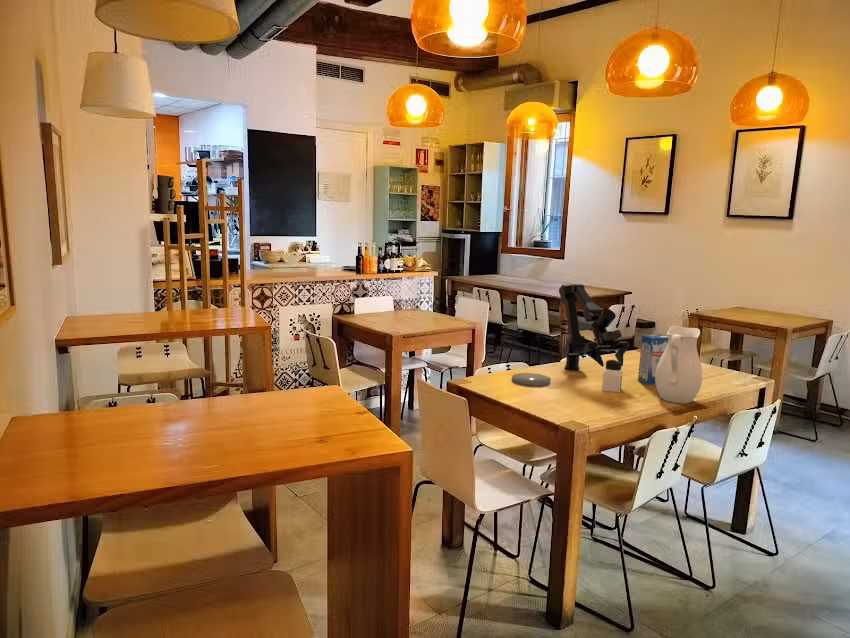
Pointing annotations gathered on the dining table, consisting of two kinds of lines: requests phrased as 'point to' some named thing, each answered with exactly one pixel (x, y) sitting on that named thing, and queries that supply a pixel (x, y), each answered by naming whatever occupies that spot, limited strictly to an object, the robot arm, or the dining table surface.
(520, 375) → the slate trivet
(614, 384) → the medicine bottle
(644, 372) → the milk carton
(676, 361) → the pitcher
